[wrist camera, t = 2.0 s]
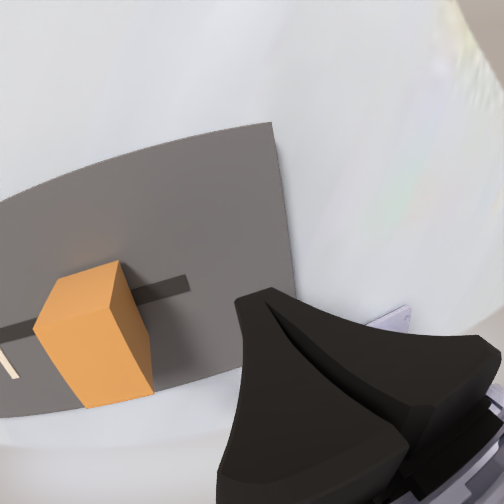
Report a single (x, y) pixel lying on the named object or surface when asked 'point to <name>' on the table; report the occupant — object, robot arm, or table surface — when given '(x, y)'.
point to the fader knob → (97, 337)
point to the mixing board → (147, 255)
